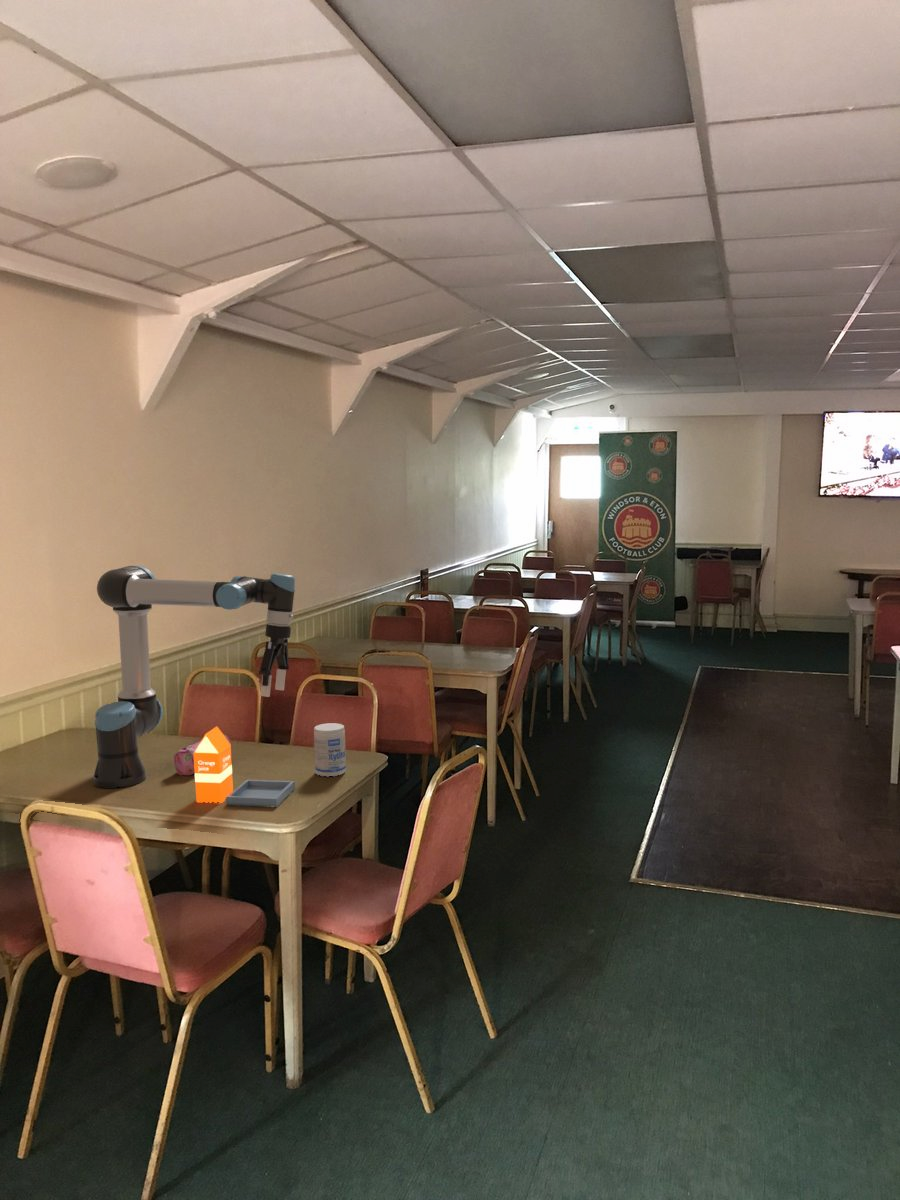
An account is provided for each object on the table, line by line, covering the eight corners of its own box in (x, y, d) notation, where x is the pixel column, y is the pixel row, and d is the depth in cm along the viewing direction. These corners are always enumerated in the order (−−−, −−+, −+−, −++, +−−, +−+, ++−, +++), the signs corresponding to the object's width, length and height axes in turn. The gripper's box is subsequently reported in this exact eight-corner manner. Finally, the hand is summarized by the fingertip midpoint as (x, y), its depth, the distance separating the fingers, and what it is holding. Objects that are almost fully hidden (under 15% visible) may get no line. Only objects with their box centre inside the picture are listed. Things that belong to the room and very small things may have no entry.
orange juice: (196, 802, 262) (191, 734, 259) (208, 791, 271) (204, 725, 268) (222, 803, 261) (217, 734, 258) (234, 792, 270) (230, 726, 267)
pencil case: (195, 778, 284) (193, 750, 282) (170, 775, 287) (168, 747, 285) (234, 758, 303) (232, 731, 302) (210, 755, 307) (208, 729, 305)
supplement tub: (333, 779, 279) (331, 732, 277) (309, 775, 284) (306, 728, 282) (352, 770, 287) (350, 724, 285) (328, 766, 292) (326, 721, 290)
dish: (226, 805, 259) (225, 796, 259) (246, 787, 274) (246, 779, 273) (277, 807, 256) (276, 798, 256) (295, 789, 271) (294, 781, 271)
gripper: (277, 628, 269) (270, 700, 270) (302, 623, 293) (296, 688, 294) (252, 626, 270) (246, 697, 271) (280, 620, 294) (274, 686, 295)
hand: (272, 693), depth 283 cm, fingers open, 13 cm apart
